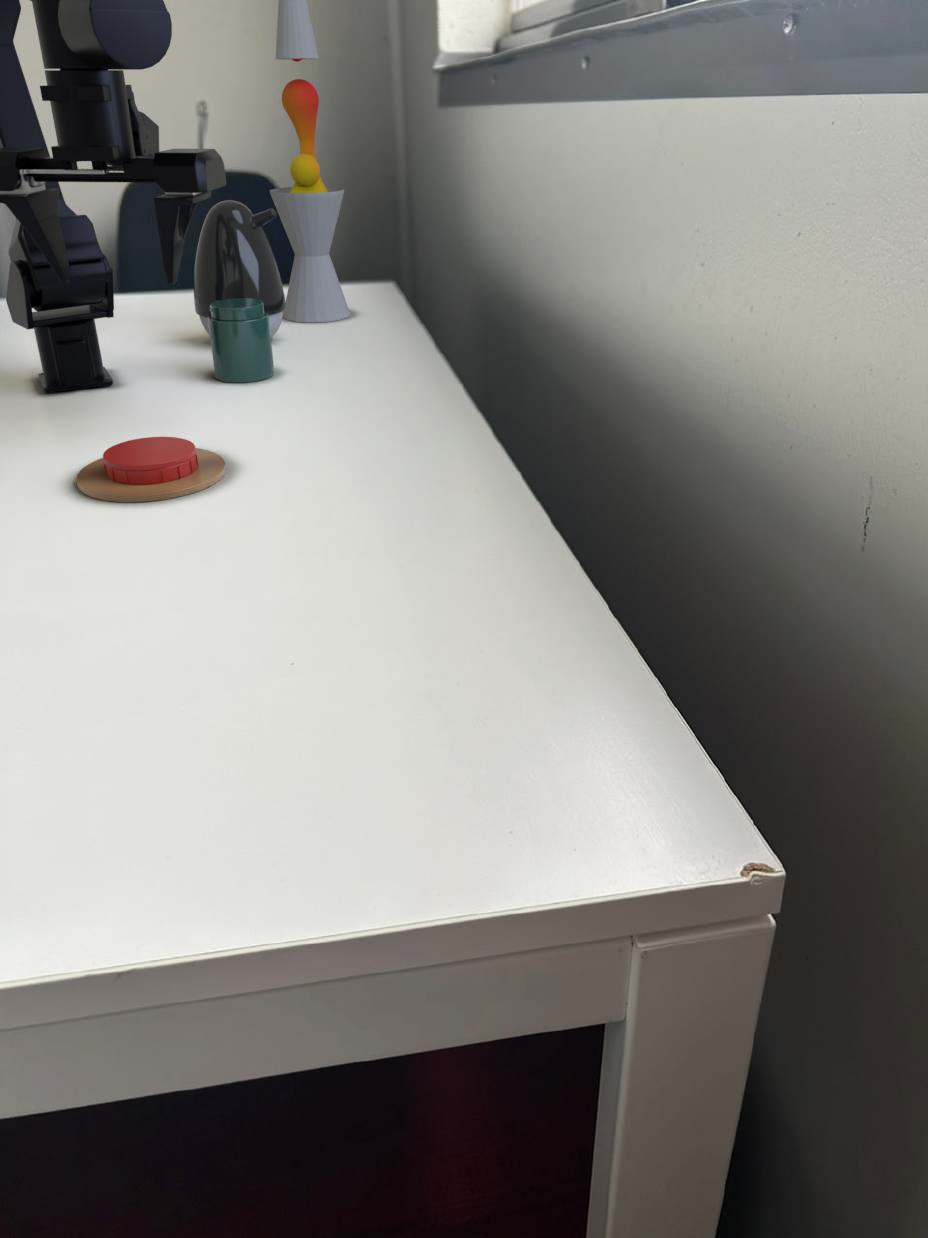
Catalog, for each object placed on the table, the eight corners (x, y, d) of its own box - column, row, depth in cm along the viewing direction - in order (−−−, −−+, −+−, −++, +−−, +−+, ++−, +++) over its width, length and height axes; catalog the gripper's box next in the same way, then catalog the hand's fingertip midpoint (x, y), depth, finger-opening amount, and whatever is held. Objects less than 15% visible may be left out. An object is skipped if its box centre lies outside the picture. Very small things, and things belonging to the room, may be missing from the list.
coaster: (69, 464, 78) (68, 458, 78) (208, 444, 82) (207, 438, 82) (87, 512, 69) (86, 505, 69) (242, 486, 73) (241, 480, 73)
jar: (209, 371, 103) (199, 300, 99) (265, 365, 105) (258, 295, 102) (223, 385, 98) (213, 311, 95) (281, 378, 100) (274, 305, 97)
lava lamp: (283, 309, 131) (254, -2, 114) (351, 307, 132) (333, -2, 115) (279, 323, 123) (248, -8, 106) (352, 321, 124) (332, -8, 107)
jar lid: (129, 492, 71) (125, 472, 71) (91, 468, 76) (87, 449, 75) (213, 470, 75) (211, 451, 74) (173, 448, 80) (170, 430, 79)
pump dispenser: (271, 353, 110) (256, 205, 102) (184, 349, 112) (164, 204, 104) (302, 333, 118) (291, 195, 111) (221, 329, 120) (205, 194, 113)
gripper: (234, 69, 82) (253, 267, 89) (16, 70, 83) (54, 264, 90) (190, 69, 72) (217, 291, 79) (-55, 70, 73) (-6, 288, 81)
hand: (119, 282), depth 83 cm, fingers open, 9 cm apart
